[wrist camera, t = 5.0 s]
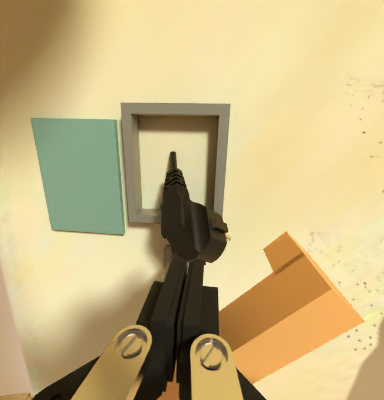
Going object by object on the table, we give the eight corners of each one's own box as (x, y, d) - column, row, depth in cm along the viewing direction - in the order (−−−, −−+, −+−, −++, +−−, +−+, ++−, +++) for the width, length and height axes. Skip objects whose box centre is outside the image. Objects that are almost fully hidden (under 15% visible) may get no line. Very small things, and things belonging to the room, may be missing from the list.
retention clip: (281, 226, 11) (334, 294, 6) (312, 257, 11) (385, 345, 7) (121, 352, 15) (78, 454, 10) (148, 372, 15) (117, 480, 11)
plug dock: (128, 105, 23) (-114, 9, 6) (228, 107, 22) (281, -5, 5) (137, 262, 28) (28, 440, 12) (217, 269, 27) (223, 473, 11)
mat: (34, 118, 24) (30, 118, 23) (116, 120, 23) (114, 119, 23) (54, 227, 28) (51, 229, 27) (125, 232, 27) (123, 234, 27)
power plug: (185, 135, 21) (198, 246, 15) (226, 167, 26) (247, 260, 20) (151, 162, 24) (150, 264, 18) (193, 186, 29) (203, 273, 23)
